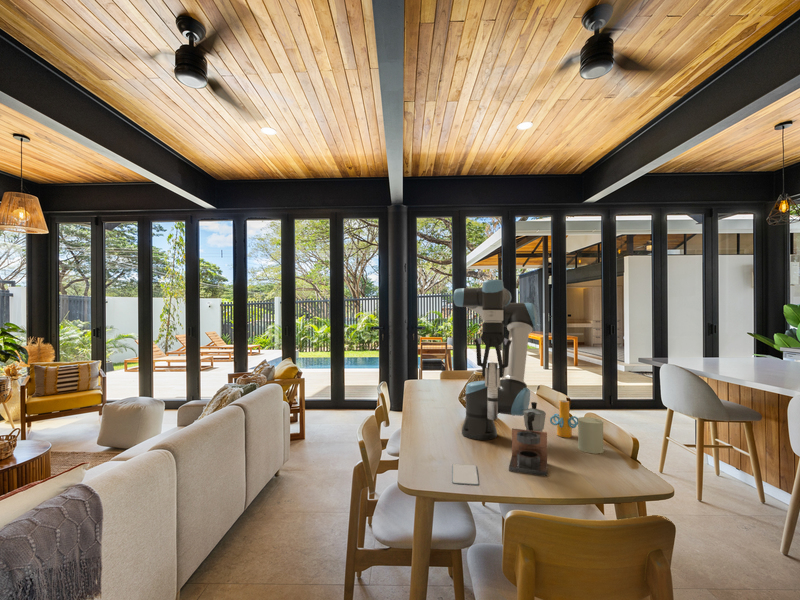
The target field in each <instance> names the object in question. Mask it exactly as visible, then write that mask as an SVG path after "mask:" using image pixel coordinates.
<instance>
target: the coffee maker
mask: <svg viewBox="0 0 800 600" xmlns="http://www.w3.org/2000/svg"><path fill="white" fill-rule="evenodd" d="M530 404H531V408H528V409H525V410H523V414H524V415H523V422H524V426H525V430H532V431H541V432H543V430H544V429H545V423H546V414H547V413H546V411H545V410H543V409H539V408H537V405H538V403H537V402H536V401H532V402H531V401H530Z"/></svg>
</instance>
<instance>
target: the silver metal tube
mask: <svg viewBox="0 0 800 600" xmlns="http://www.w3.org/2000/svg"><path fill="white" fill-rule="evenodd" d="M487 368H488V397H487V418H488V419H492V420H494V421H495V420H499V419H498V418H499V417H498V416H499V415H498V414H499V413H498V387H497V369H498V368H499V364H498V362H489V361H488V362H487Z"/></svg>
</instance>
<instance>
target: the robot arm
mask: <svg viewBox="0 0 800 600" xmlns="http://www.w3.org/2000/svg"><path fill="white" fill-rule="evenodd" d="M481 286H482V287H465V288H464V287H463V288H456V289H455V290H454V292H453V303H454V305H455V307H461V308H463V307H464V308H468V309H469V310H471V311H473V312H475V313H476V314H477V315H479V316H480V317H481V319H482V320H481V321H483V323H482V325H481V327H482V329H481V332H482V333H481V336H480V337H479V338H475V339H474V340H473V341H474V344H475V348H476V349H475V351H476V353H475V354H476V365H477V366H478V367H481V368H482V369H481V370H482V371H481V372H482V373H481V375H482V377H484V380H476V381H471V382H469V383H467V384H466V386H465V418H464V421H463V423H462V427H461V435H462V436H463V437H465V438H468V439H471V440H479V441H480V440H481V441H488V440H493V439H496V438H497V436H498V431H497V427H496V424H495V420H492V419H488V418H487V397H488V360H489V353H490V349H491V348H495V353H496V357H497V363H498V369H497V387H498V414H501V415H509V416H512V417H513V416H516V417H522V416H523V417H524V414H523V410H525V409H529V406H530V403H531V390H530V389H529V388H528V384H527V383H526V382H525V374H526V373H525V372H526V371H525V370H526V363H527V354H528V345H529V335H530V334H531V333H532V332H533V330H534V329H535V328H537V327H538V316H537V310H536V305H535V304H534V303H532V302H511V301H512V293H511V292H510V291H509V290H508V289H507V288H505V286H504V281H503V280H501V279H485V280H483V282H482V285H481ZM504 327H505V328H507V329H506V330H507V331H508V333H509V334H508V339H507V338H506V337H505V334H504ZM533 328H534V329H533ZM482 342H483V344H484V345H485V347H484V353H483V354H484V355H483V359H482V348H481V347H482V346H481V344H482ZM503 342H504V345H505V347H504V360H503V356H502V352H501V345H502V344H503ZM503 361H504V362H503Z"/></svg>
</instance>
